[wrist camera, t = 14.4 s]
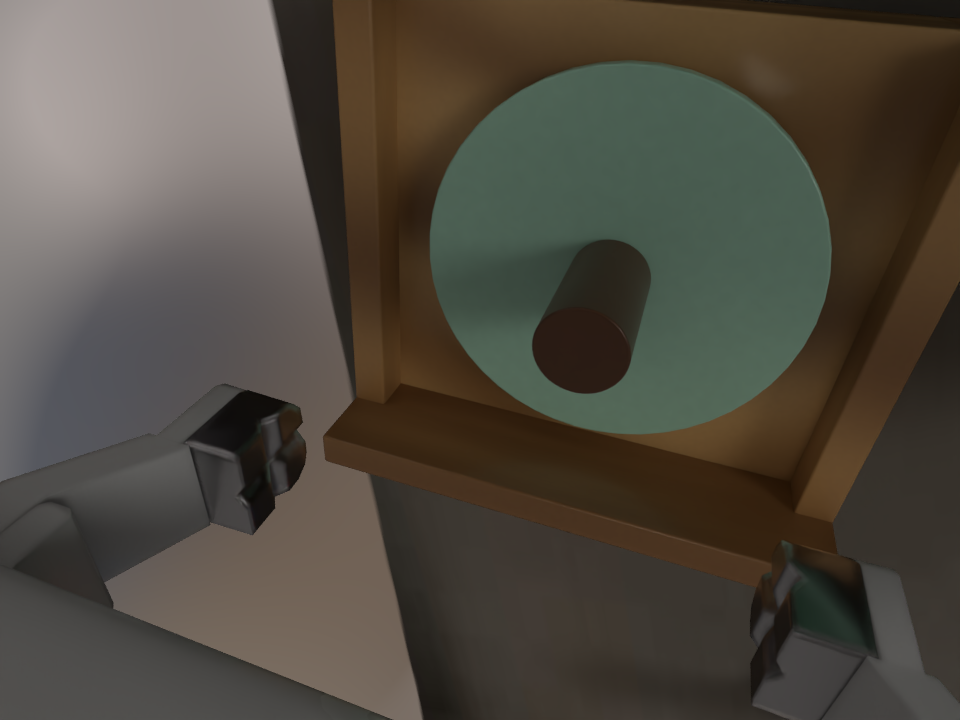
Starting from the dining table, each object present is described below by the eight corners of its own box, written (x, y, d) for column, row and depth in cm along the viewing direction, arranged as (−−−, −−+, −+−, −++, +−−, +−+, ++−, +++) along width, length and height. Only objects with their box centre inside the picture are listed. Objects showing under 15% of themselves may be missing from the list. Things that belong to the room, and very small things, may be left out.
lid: (378, 177, 21) (279, 238, 16) (735, -42, 15) (735, -42, 10) (542, 446, 25) (498, 558, 20) (881, 357, 19) (929, 486, 14)
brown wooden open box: (425, -27, 22) (274, -20, 15) (983, 20, 18) (1151, 62, 11) (422, 341, 30) (324, 461, 23) (803, 430, 26) (829, 610, 19)
